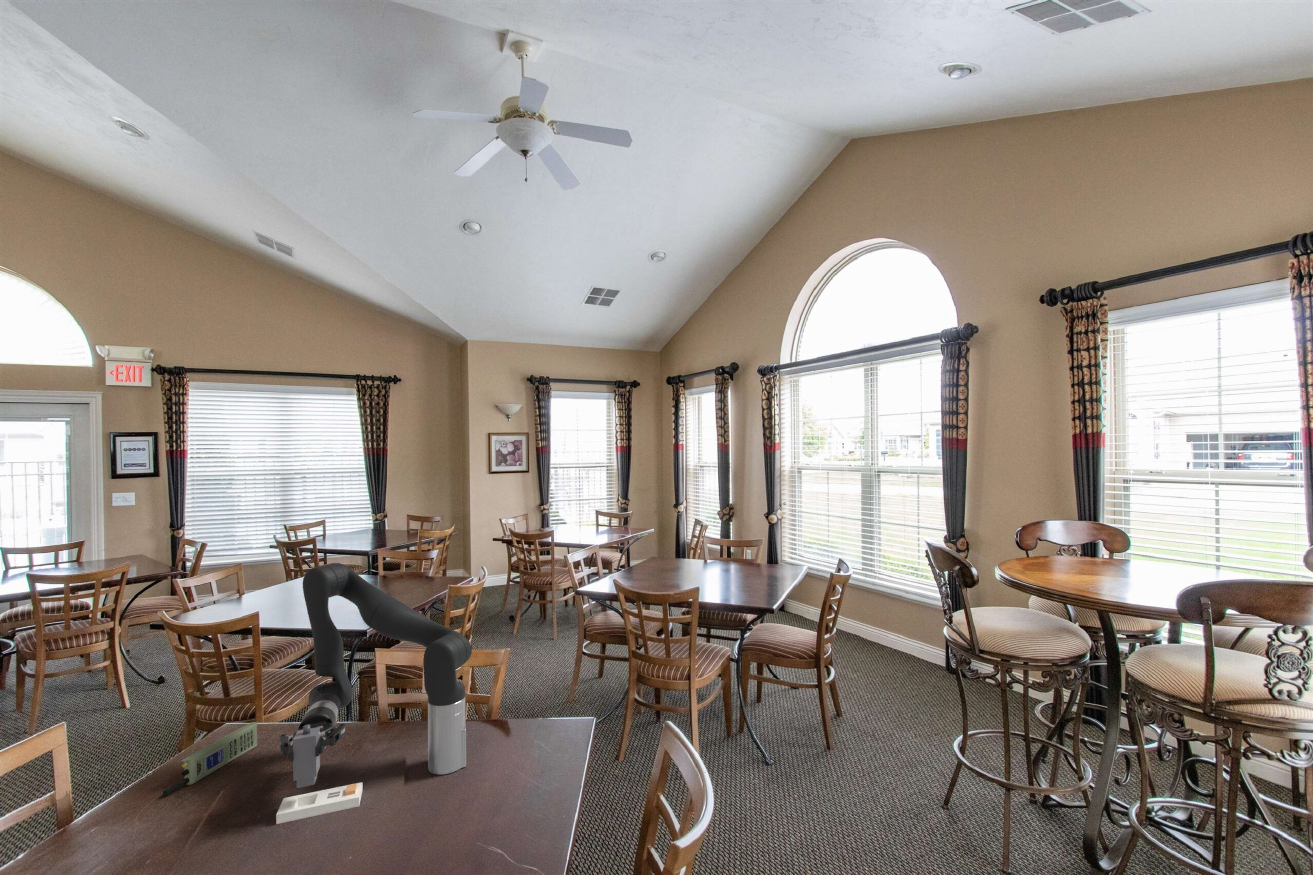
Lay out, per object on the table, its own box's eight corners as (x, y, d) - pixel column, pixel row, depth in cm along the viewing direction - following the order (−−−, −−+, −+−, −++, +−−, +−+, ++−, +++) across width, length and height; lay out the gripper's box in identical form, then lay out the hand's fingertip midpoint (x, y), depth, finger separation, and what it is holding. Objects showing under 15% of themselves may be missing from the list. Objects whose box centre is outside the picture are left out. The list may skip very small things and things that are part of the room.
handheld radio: (259, 746, 159) (170, 799, 134) (249, 745, 159) (158, 799, 135) (259, 722, 159) (169, 771, 135) (248, 722, 160) (158, 770, 135)
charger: (320, 774, 130) (319, 719, 130) (316, 785, 126) (315, 728, 126) (297, 779, 128) (297, 723, 128) (293, 790, 124) (293, 732, 124)
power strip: (390, 791, 136) (390, 773, 136) (388, 806, 130) (388, 787, 130) (283, 813, 128) (283, 794, 128) (276, 831, 122) (276, 810, 122)
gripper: (285, 711, 138) (266, 744, 122) (351, 700, 143) (340, 730, 127) (285, 742, 138) (266, 779, 122) (351, 730, 143) (341, 764, 127)
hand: (304, 754), depth 125 cm, fingers closed on charger, 4 cm apart
